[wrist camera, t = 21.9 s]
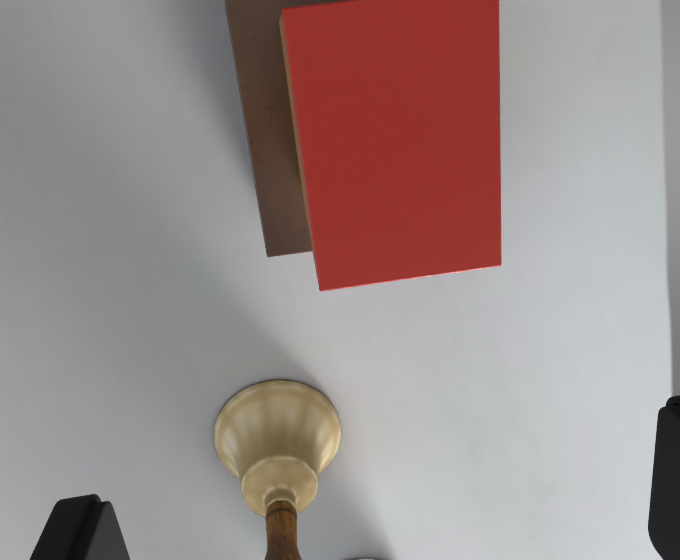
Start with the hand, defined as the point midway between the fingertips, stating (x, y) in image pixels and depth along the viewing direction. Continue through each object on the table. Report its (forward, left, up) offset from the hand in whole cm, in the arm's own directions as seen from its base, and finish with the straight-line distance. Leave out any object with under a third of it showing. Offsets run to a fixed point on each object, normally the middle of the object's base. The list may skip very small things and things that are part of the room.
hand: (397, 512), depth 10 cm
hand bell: (-4, -16, -26) cm, 31 cm away
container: (+5, +5, -18) cm, 20 cm away
